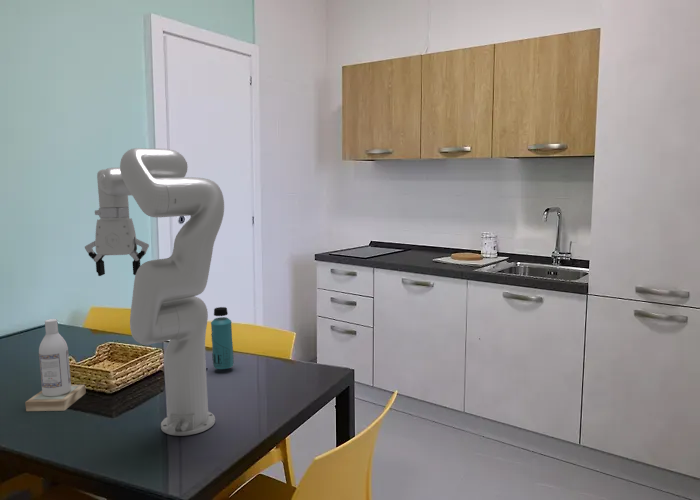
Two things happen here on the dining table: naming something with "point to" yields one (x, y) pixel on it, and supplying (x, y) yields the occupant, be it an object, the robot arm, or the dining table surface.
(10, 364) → the dining table surface
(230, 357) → the beverage bottle
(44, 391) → the bath foam
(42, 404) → the plinth
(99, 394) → the dining table surface
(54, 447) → the dining table surface
